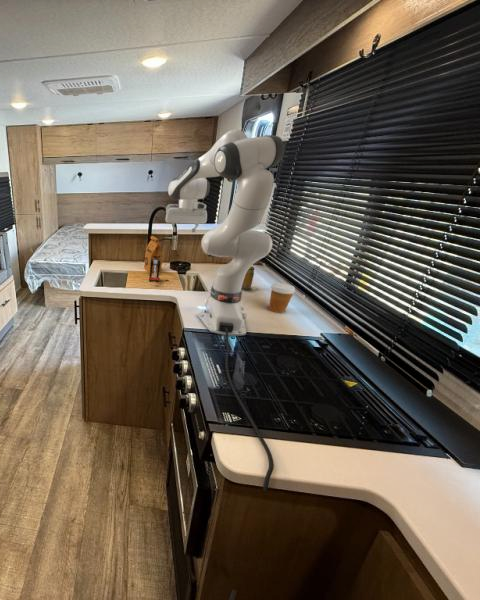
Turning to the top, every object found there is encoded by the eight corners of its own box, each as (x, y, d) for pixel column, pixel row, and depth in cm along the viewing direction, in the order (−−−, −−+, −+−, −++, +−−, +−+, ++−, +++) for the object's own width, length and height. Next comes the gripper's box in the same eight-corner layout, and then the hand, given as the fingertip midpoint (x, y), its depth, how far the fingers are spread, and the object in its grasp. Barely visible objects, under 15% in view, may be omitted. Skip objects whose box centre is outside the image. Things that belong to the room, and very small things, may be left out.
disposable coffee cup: (261, 309, 144) (268, 285, 139) (270, 304, 150) (276, 281, 145) (284, 316, 137) (291, 291, 133) (291, 310, 143) (299, 286, 138)
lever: (159, 281, 167) (159, 278, 165) (149, 280, 168) (150, 278, 166) (159, 262, 174) (160, 259, 172) (150, 262, 175) (151, 259, 173)
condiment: (241, 284, 174) (245, 264, 169) (256, 288, 168) (261, 268, 163) (235, 287, 170) (239, 267, 165) (250, 292, 164) (255, 270, 159)
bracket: (161, 286, 172) (164, 263, 166) (145, 285, 173) (147, 262, 168) (160, 280, 182) (163, 257, 176) (145, 279, 183) (147, 256, 178)
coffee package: (147, 275, 190) (150, 240, 181) (142, 269, 201) (145, 235, 192) (162, 275, 190) (166, 239, 181) (157, 268, 201) (161, 235, 192)
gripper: (166, 204, 153) (164, 232, 159) (209, 205, 150) (205, 233, 155) (166, 203, 159) (163, 230, 164) (207, 204, 156) (203, 231, 161)
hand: (184, 231), depth 160 cm, fingers open, 8 cm apart
